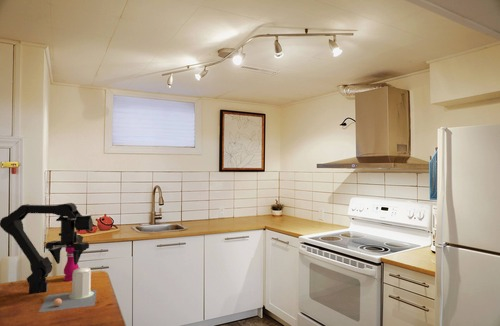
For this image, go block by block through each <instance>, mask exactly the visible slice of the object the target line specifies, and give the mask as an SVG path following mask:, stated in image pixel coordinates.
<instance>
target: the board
mask: <svg viewBox="0 0 500 326" xmlns="http://www.w3.org/2000/svg"><path fill="white" fill-rule="evenodd" d="M97 291H98V290H97V289H91V293H90V294H89V295H88V296H85V297H76V298H75V297H73V296H72V291H71V292H63V293H56V294H47V295H46V297H45V299H44V301H43V303H42V304H41V307H40V308H39V310H38V312H37V313H46V312H54V311H55V312H56V311H62V310H70V309H78V308H79V309H80V308H84V307H86V308H87V307H93V306H94V307H95V304H96V298H97ZM58 298H59V299H61V300H62V303H61V305H60V306H55V305H54V300H55V299H58Z"/></svg>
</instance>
